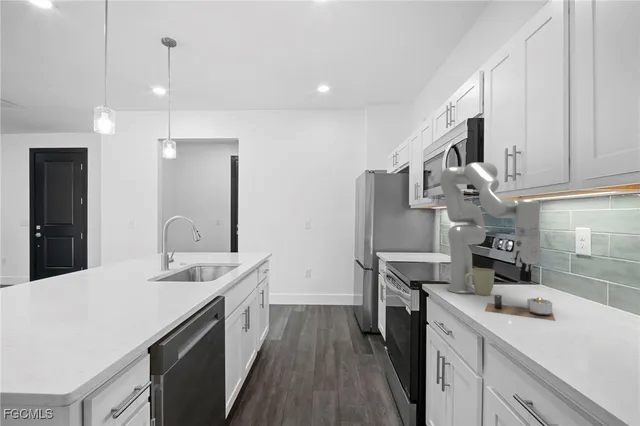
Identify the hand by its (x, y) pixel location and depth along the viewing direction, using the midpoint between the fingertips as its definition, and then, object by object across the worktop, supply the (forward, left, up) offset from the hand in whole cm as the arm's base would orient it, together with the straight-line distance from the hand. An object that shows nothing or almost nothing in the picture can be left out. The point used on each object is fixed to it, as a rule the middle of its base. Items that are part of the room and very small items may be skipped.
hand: (525, 281), depth 122 cm
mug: (-23, 0, -12) cm, 26 cm away
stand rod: (-2, -10, -10) cm, 15 cm away
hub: (+7, -1, -10) cm, 12 cm away
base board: (+2, -5, -11) cm, 13 cm away
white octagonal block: (+7, -1, -9) cm, 11 cm away
